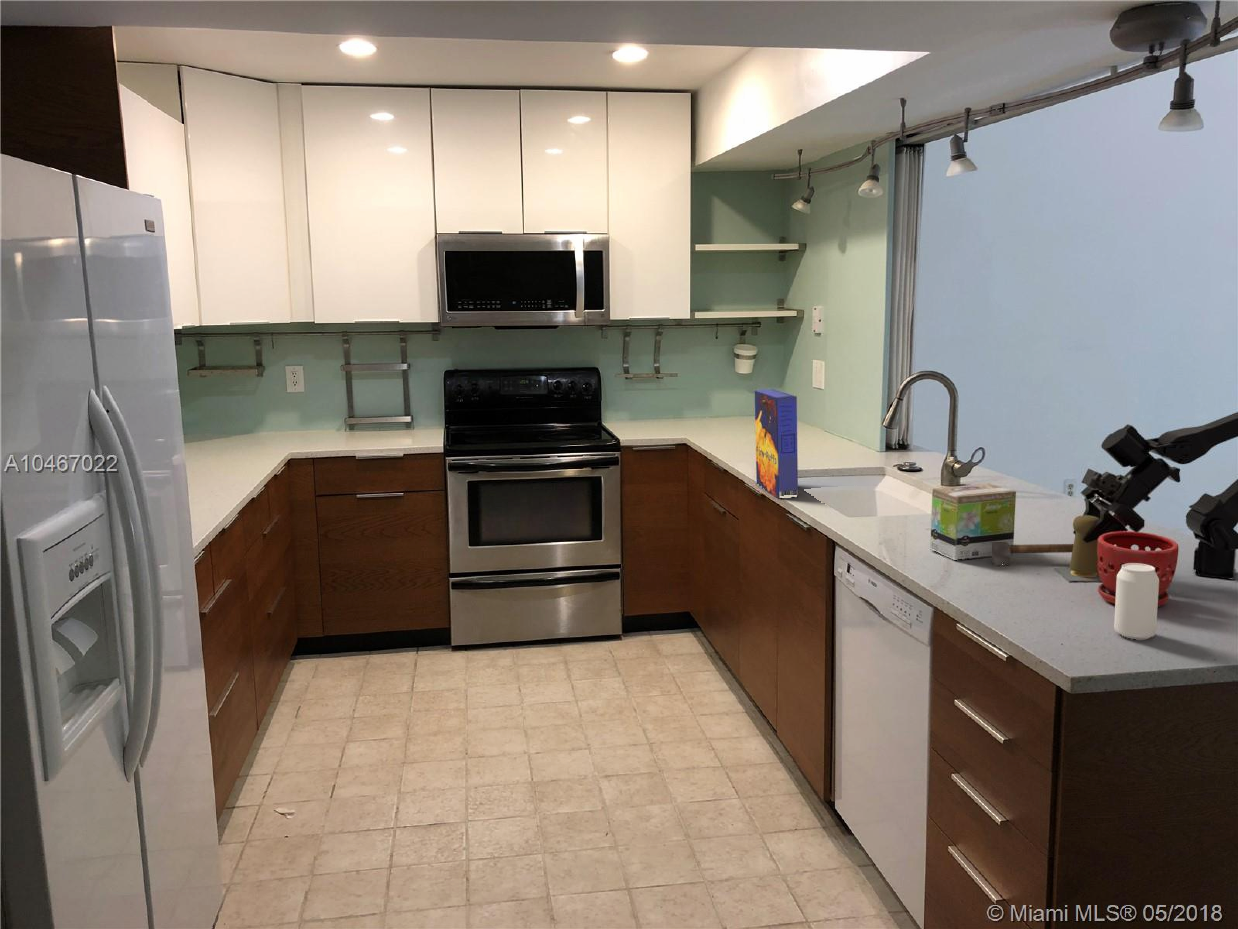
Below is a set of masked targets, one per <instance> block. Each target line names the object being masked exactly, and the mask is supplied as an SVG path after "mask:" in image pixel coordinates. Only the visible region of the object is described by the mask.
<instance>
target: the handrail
mask: <svg viewBox="0 0 1238 929" xmlns="http://www.w3.org/2000/svg"><path fill="white" fill-rule="evenodd" d="M1073 545H1074V543H1056V544H1055V543H1052V544H1051V543H1047V544H1046V543H1045V544H1043V543H1042V544H1040V543H1039V544H1013V545H1009V544H1008V543H1007V542H992V556H991V562H992V561H993V562H994V564H995V565H1002V564H1003V565H1005V566H1011V554H1010V553H1012V554H1045V553H1046V554H1052V553H1053V554H1054V553H1057V554H1058V553H1059V554H1060V553H1063V554H1064V553H1065V554H1066V553H1068V554H1069V553H1072V551H1073ZM1102 560H1103V559H1102ZM994 564H993V565H994ZM995 565H994V566H995Z"/></svg>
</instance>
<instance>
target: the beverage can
mask: <svg viewBox="0 0 1238 929" xmlns="http://www.w3.org/2000/svg"><path fill="white" fill-rule="evenodd" d="M1158 590H1159V578H1158V576H1157V574H1156V572H1155V568H1154V567H1153V566H1150V565H1147V564H1141V563H1127V564H1123V565H1122V568H1121V570H1120V571H1119V573H1118V574H1117V581H1116V601H1115V604H1114V607H1115V608H1114V626H1113V628H1114V631H1115V632H1116V633H1118V634H1119V635H1120V634H1121V635H1122V636H1121V635H1120V636H1121V637H1123V636H1124V637H1123V638H1125V637H1127V638H1126V639H1128V638H1131V639H1130V640H1133V639H1136V640H1135V641H1144V640H1148V639H1149V638H1152V637H1154V636H1156V632H1157V620H1158Z"/></svg>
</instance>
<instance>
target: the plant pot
mask: <svg viewBox="0 0 1238 929" xmlns="http://www.w3.org/2000/svg"><path fill="white" fill-rule="evenodd" d="M1133 546H1136V547H1137V548H1138V549H1132V547H1133ZM1146 548H1149V549H1150V550H1146ZM1157 549H1160V550H1157ZM1097 555H1098V571H1099V575H1100V578H1101V580H1102V582H1101V584H1099V586H1098V587H1097V592H1098V594H1099V595H1100V597H1102V598H1103V599H1104V600H1105V601H1107V602H1109V603H1111V604H1114V605H1115V601H1116V581H1117V574H1118V573H1119V571H1120V570H1121V568H1122V565H1123V564H1127V563H1141V564H1147V565H1150V566H1153V567H1154V568H1155V572H1156V574H1157V576H1158V578H1159V590H1158V607H1161V606H1163V605H1164V604H1166V603H1167V602H1168V601H1169V597H1170V595H1169V593H1168V592H1167V590H1168V589H1169V587H1170V585H1171V584H1172V581H1173V579H1174V577H1175V573H1176V569H1177V566H1178V557H1179V544H1178V543H1177V541H1175V540H1173V539H1172V538H1171V539H1170V538H1169V537H1165V536H1162V535H1158V534H1154V533H1147V532H1143V531H1142V532H1140V531H1139V532H1134V531H1129V530H1128V531H1119V532H1110V533H1105V534H1103V535H1101V536H1100V537H1099V538H1098V545H1097ZM1102 559H1103V560H1102ZM1158 607H1157V608H1158Z"/></svg>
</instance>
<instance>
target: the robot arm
mask: <svg viewBox="0 0 1238 929" xmlns="http://www.w3.org/2000/svg"><path fill="white" fill-rule="evenodd" d="M1237 437H1238V411H1237V412H1234V413H1232V414H1229V415H1226V416H1224V417H1222V418H1219V419H1216V420H1214V421H1212V422H1211V421H1210V422H1209V423H1206V424H1203V425H1197V426H1192V427H1191V426H1190V427H1183V428H1178V429H1174V430H1168V431H1166V432H1164V433H1161V435H1160V436H1159V437H1154V438H1148V439H1147V438H1145V437H1143V435H1141V434H1140V432H1139V431H1138V430H1137V429H1136V427H1134V426H1133V425H1132V424H1125V426H1123V427H1122V428H1119V429H1117V430H1115V431H1114V432H1113V433H1110V434H1108V435H1107V436H1106V437H1105V438H1104V440H1103V441H1102V443H1101V444H1100V445H1101V447H1100V448H1101V449H1102V450H1103V451H1105V452H1106V454H1108V455H1109V456H1110V457H1111V458H1112V459H1113V460H1114V461H1115V462H1117V464H1118V465H1120V467H1122V468H1128V467H1130V468H1131V469H1130V470H1129V471H1127V472H1126V473H1125V475H1122V474H1117V475H1116V474H1114V473H1112V472H1109V471H1104V472H1103V473H1101V472H1098V471H1096V470H1093V469H1090V468H1088V469H1087V471H1086V472H1085V474H1084V476H1083V478H1082V480H1081V483H1082V484H1084V485H1086V487H1085V488H1084V489H1083V490H1082V491H1081V492H1080V494H1081V496H1083V497H1084V504H1085V509H1084V512H1083V514H1082V516H1083V515H1089V516H1095V517H1097V518H1099V520H1098V521H1097V522H1096V523H1095V524H1094V525H1093V527H1092V528H1091V529H1090V530H1089V531H1088V532H1087V534H1086V535H1085V536H1084V538H1083V540H1084V541H1085V542H1086V543H1088V542H1091V541H1094V540H1097V539H1098V538H1099V537H1100V536H1101V535H1103V534H1105V533H1110V532H1119V531H1129V529H1130V530H1131V532H1140V531H1141V530H1143V529H1144V527H1145V519H1144V518H1143V517H1142V516H1141V515H1140V514H1139V513H1138V512H1137V511H1135V510H1134V509H1135V508H1136V507H1137V506H1138V505H1139V504H1141V503H1142V502H1143V501H1144V502H1146V503H1148V502H1149V501H1150V500H1151V497H1150V496H1149V495H1151V493H1152V492H1154V491H1155V490H1156V489H1157V488H1158V487H1160V485H1161V484H1162V483H1163V482H1165V481H1166V480H1167V479H1169V480H1171V481H1173V482H1176V483H1180V482H1181V476H1180V475H1181V474H1180V472H1181V469H1180V468H1179V467H1178V466H1177V467H1176V466H1171V465H1170V464H1169V463H1168V462H1166V460H1168V461H1170V462H1173V463H1176V464H1178V465H1187V464H1190V463H1193V462H1194V461H1196V460H1197V459H1200V458H1202V457H1204V456H1205V455H1206V454H1208V452H1210V450H1212V449H1213V448H1214V447H1216V446H1217V445H1220V444H1223V443H1225V442H1227V441H1230V440H1233V439H1235V438H1237ZM1152 453H1153V454H1156V455H1158V456H1160V457H1158V458H1156V457H1154V456H1153V455H1152ZM1164 459H1166V460H1164ZM1188 508H1190V509H1189V510H1188V512H1187V513H1186V514H1185V523H1186V527H1187V528H1188V529H1189V531H1191V532H1192V533H1193V536H1194V539H1196V540H1199V541H1198V544H1197V545H1198V546H1196V547H1195V549H1194V552H1193V566H1192V569H1193V571H1194V575H1195V576H1200V575H1201V577H1208V576H1209V577H1210V578H1217V577H1221V578H1220V579H1225V578H1234V579H1235V575H1236V572H1237V571H1236V570H1237V569H1236V556H1237V550H1238V532H1237V531H1236V530H1235V527H1236V526H1237V525H1238V478H1237V479H1236V480H1235V481H1233V483H1231V484H1230V485H1229V486H1228V487H1226V489H1225V490H1224V491H1222V492H1221V493H1219V494H1217V495H1214V496H1213V495H1211V494H1209V493H1206V492H1205V493H1203V494H1202V495H1201V496H1200V497H1199V499H1198V500H1197V501H1196V502H1194V503H1193V504H1191V505H1189V506H1188ZM1127 527H1129V529H1128V528H1127ZM1072 533H1073V534H1074V535H1075V534H1076V531H1075V530H1074V529H1073V532H1072ZM1209 577H1208V578H1209Z"/></svg>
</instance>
